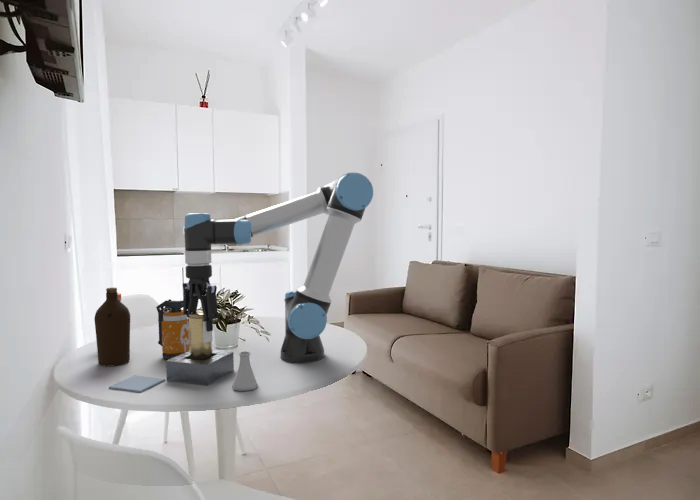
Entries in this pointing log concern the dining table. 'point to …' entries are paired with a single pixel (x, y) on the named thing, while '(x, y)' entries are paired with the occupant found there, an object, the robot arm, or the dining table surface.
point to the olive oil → (112, 331)
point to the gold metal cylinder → (198, 338)
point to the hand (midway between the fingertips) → (200, 339)
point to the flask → (244, 374)
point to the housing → (199, 368)
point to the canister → (173, 329)
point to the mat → (137, 383)
